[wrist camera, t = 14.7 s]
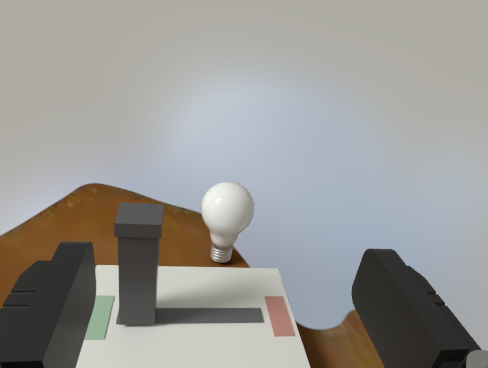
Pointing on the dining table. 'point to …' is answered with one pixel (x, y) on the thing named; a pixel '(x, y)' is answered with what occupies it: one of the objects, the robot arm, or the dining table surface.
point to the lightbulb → (226, 216)
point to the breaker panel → (197, 322)
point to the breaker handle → (138, 261)
